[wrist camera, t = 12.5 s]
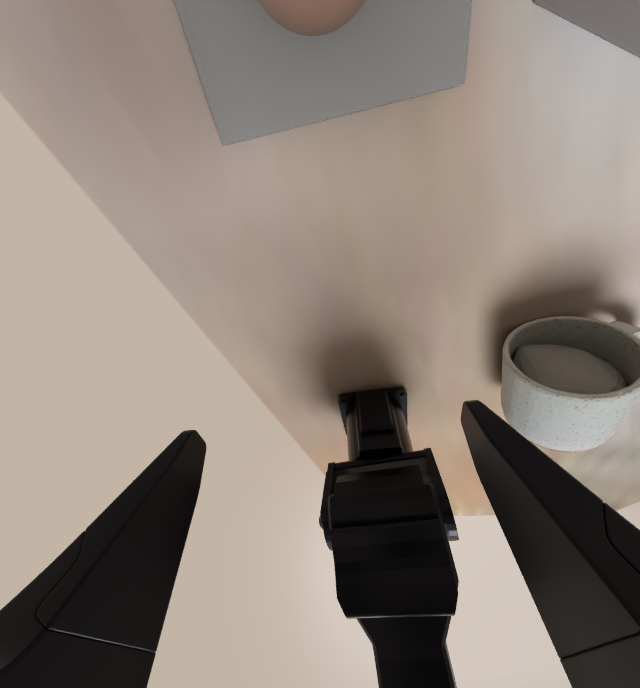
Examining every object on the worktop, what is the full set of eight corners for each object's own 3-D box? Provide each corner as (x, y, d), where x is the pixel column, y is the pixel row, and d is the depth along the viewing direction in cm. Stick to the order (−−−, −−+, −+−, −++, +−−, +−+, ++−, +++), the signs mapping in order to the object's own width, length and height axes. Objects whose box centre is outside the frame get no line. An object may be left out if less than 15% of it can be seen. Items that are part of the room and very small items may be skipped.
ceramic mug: (485, 396, 27) (532, 473, 21) (483, 331, 23) (543, 406, 17) (613, 368, 25) (707, 445, 19) (640, 289, 20) (776, 358, 14)
